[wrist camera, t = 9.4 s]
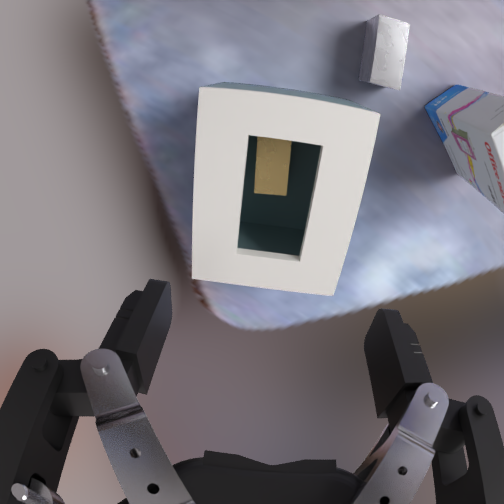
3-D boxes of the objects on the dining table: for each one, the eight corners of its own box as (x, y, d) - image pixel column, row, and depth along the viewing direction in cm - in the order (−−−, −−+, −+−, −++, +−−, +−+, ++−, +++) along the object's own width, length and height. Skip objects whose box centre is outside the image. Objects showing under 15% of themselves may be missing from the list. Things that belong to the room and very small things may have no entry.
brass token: (256, 177, 29) (254, 193, 26) (260, 113, 26) (258, 120, 23) (285, 179, 29) (286, 195, 26) (290, 116, 26) (293, 122, 23)
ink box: (420, 106, 25) (490, 133, 15) (455, 83, 23) (533, 101, 13) (455, 176, 28) (519, 230, 18) (487, 154, 26) (557, 198, 16)
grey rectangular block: (358, 80, 25) (370, 82, 21) (366, 20, 21) (379, 14, 18) (384, 87, 25) (400, 90, 21) (393, 28, 21) (409, 24, 18)
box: (224, 82, 26) (199, 87, 17) (347, 99, 26) (380, 114, 17) (213, 221, 33) (191, 278, 25) (320, 235, 33) (333, 296, 25)
